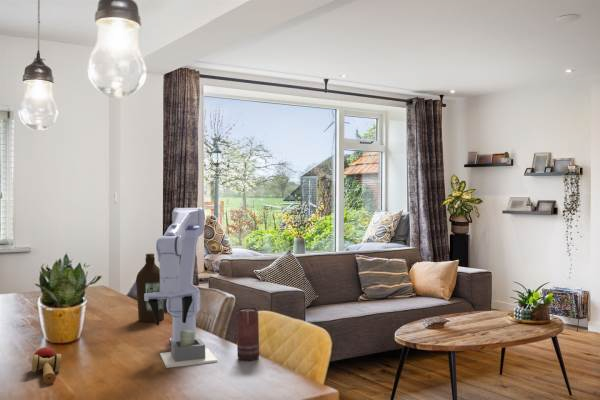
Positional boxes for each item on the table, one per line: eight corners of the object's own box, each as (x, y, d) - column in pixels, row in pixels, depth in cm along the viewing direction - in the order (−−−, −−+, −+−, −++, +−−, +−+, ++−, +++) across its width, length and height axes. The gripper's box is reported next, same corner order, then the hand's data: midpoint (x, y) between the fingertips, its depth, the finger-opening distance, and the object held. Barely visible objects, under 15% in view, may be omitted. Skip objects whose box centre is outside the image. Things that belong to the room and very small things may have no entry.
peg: (179, 354, 172) (179, 330, 171) (193, 353, 173) (193, 329, 172) (180, 358, 168) (181, 334, 167) (195, 357, 169) (195, 333, 169)
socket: (160, 355, 175) (159, 340, 175) (207, 350, 179) (207, 335, 179) (166, 367, 161) (166, 351, 161) (217, 362, 166) (216, 346, 166)
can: (239, 362, 165) (238, 312, 165) (236, 356, 172) (235, 308, 171) (261, 360, 167) (260, 310, 167) (256, 354, 173) (255, 306, 173)
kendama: (69, 386, 152) (61, 359, 168) (64, 363, 151) (56, 339, 166) (36, 396, 148) (31, 368, 164) (31, 373, 147) (26, 347, 163)
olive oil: (132, 319, 227) (131, 253, 226) (159, 315, 233) (157, 251, 233) (143, 324, 218) (141, 255, 218) (170, 320, 224) (168, 253, 224)
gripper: (145, 280, 167) (146, 328, 167) (197, 277, 172) (198, 323, 172) (143, 277, 174) (144, 323, 174) (192, 274, 179) (193, 319, 179)
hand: (170, 323), depth 174 cm, fingers open, 7 cm apart
